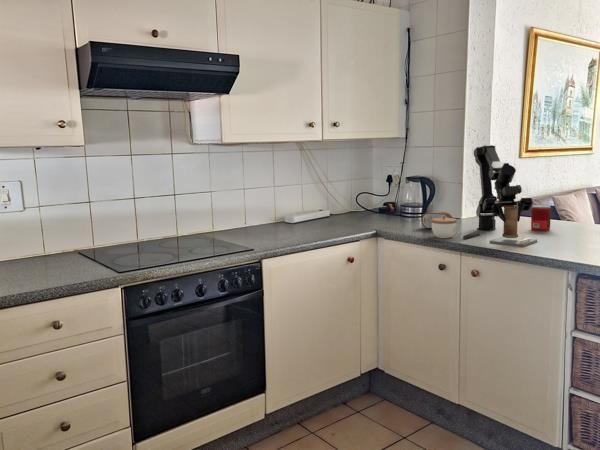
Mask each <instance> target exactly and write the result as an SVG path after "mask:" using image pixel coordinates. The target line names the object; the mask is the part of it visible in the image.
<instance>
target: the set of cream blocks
mask: <svg viewBox="0 0 600 450" xmlns="http://www.w3.org/2000/svg"><path fill="white" fill-rule="evenodd" d="M524 238H525V239H522V240H519V243H520V244H524V243H527V242H529V241H531V239H532V238H531V237H524Z"/></svg>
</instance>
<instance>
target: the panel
mask: <svg viewBox="0 0 600 450" xmlns="http://www.w3.org/2000/svg"><path fill="white" fill-rule="evenodd" d="M525 238H526V237H519V236H518V237H517V238H505V237H502V236H499V237H496V238H493V239H490V240H489V244H496V245H503V246H513V247H522V248H525V247H527V246H530V245H533V244H535V243H538V239H535V238H531V241H529V242H527V243H524V244H520V243H519V240H522V239H525Z"/></svg>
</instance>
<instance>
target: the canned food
mask: <svg viewBox="0 0 600 450" xmlns="http://www.w3.org/2000/svg"><path fill="white" fill-rule="evenodd" d="M530 211H531V216H530V217H531V219H530V229H531V230H532V231H535V232H549V231H550V229H551V218H552V217H551V216H552V214H551V213H552V207H551V205H547V204H546V205H545V204H532V205H531V210H530Z"/></svg>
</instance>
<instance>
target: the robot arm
mask: <svg viewBox="0 0 600 450" xmlns="http://www.w3.org/2000/svg"><path fill="white" fill-rule="evenodd" d="M473 157H474V160H475V163H476V164H477V165H478V167H479V176H480V188H481V197H480V199H479V200H478V205H477V208H476V211H475V214H476V215H475V216H477V217H478V227H476V229H477V230H481V231H494V230H496V229H497V227H496V219H495V217H498V218H499V219H500V220H501V221H502V222H503V223H504V222H505V216H504V209H503V208H504V206H505V205H516V206H518V223H519V222H520V220H521V213H522V212H525V211H526V212H527V211H531V209H532V206H533V203H534V202H533V198H532V197H521V198H520V200H518V201H517V200H516V198H517V196H516V195H518V194H521V193H522V191H523V189H522V185H521V184H516V185H511V183H512V182H513V180H514V176H515V173H516V172H517V169H516V167H514V166H513V165H510V164H509V162H504V163H503V162H501V160H500V158H499V157H500V156H499V155H498V153H497V151H496V145H494V144H484V145H482V146H476V148H474V150H473ZM492 181H495V182H494V190H495V191H496V192H495V193H496V196H495V195H494V194H493V185H492ZM515 200H516V201H515Z"/></svg>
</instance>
